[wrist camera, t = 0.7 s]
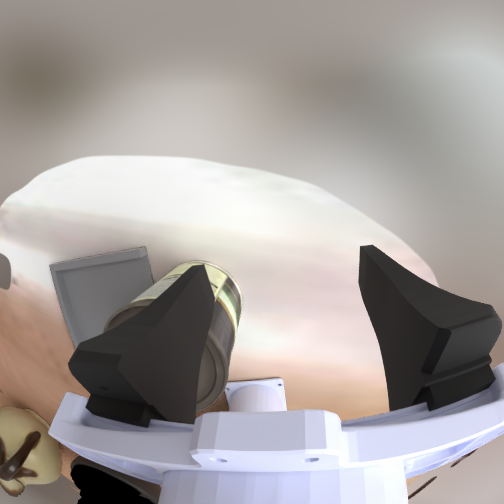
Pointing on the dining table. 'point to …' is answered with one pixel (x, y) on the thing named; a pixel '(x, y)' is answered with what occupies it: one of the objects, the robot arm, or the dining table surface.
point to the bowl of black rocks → (110, 485)
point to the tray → (99, 288)
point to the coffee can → (219, 333)
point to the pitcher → (26, 450)
